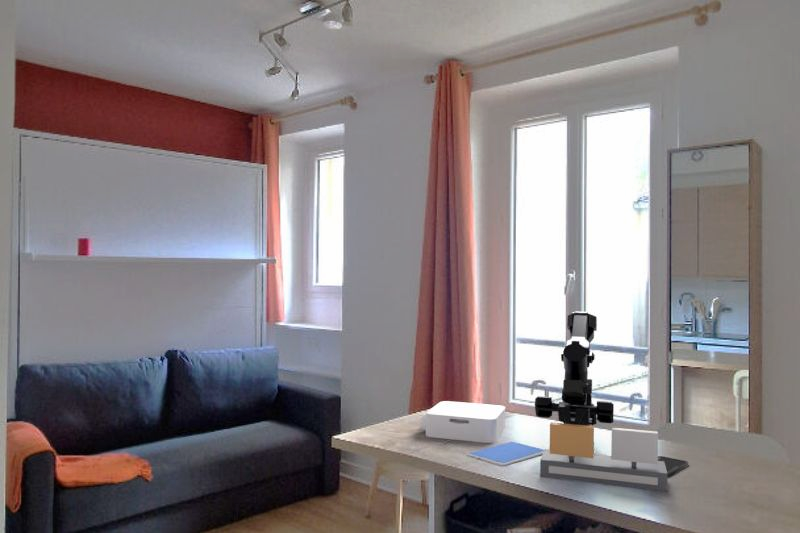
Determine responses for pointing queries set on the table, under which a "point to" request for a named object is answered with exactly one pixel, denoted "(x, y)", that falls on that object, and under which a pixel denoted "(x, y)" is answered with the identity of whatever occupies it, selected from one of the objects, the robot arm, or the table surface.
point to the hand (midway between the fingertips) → (571, 439)
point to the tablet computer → (506, 453)
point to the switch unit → (604, 471)
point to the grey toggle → (634, 446)
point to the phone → (673, 465)
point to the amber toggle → (572, 440)
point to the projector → (464, 421)
